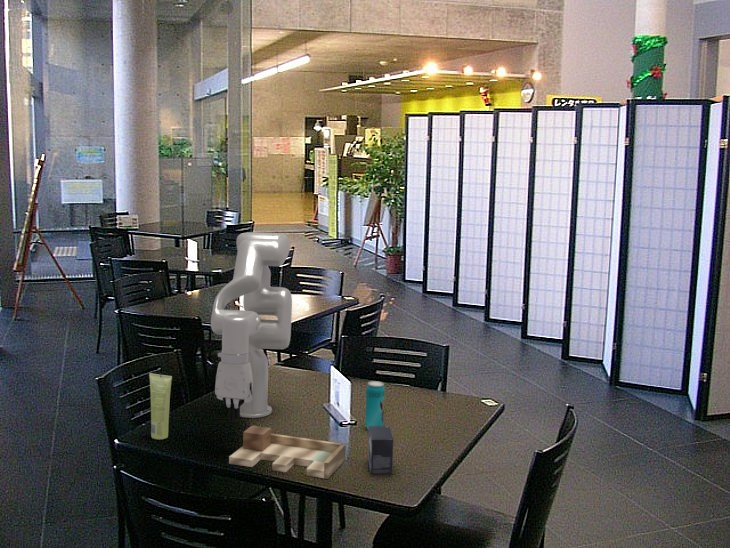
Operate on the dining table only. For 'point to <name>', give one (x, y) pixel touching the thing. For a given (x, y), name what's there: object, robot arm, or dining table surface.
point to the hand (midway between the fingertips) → (233, 420)
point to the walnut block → (257, 438)
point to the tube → (160, 405)
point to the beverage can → (375, 404)
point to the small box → (380, 450)
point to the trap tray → (295, 455)
